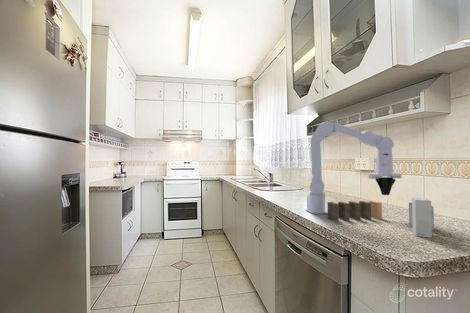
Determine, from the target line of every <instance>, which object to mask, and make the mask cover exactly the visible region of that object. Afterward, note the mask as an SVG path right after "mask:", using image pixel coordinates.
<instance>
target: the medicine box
mask: <svg viewBox="0 0 470 313" xmlns="http://www.w3.org/2000/svg"><path fill="white" fill-rule="evenodd" d="M434 210H435V209H434V206H433V205H431V227H432V231H435V215H434V213H435V212H434ZM408 217H409V218H408V222H409V225H411V226H413V219H412V202H409V203H408Z"/></svg>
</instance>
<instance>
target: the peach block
mask: <svg viewBox="0 0 470 313" xmlns="http://www.w3.org/2000/svg"><path fill="white" fill-rule="evenodd" d="M369 203H371V218H373V219H376V220H382V219H383V210H382V208H383V204H382V202H380V201H376V200H369Z"/></svg>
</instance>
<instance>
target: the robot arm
mask: <svg viewBox="0 0 470 313" xmlns="http://www.w3.org/2000/svg"><path fill="white" fill-rule="evenodd" d="M339 134H341V135H345V136H348V137H352V138H355V139H358V141H359V143H362V144H364V145H366V146H370V147H373V148H376V149H377V154H376V155H377V156H376V159H377V160H376V162H377V164H376V166H377V169H376V170H377V173H369V174H368V179H371V180H373V179H374V180H375V182H376V183H377V185H378V187H379V189H380V193H381V195H383V196H389V195H390V194H391V190H392V188H393V185H394V184H395V183H396V179H402V177H403V176H402V174H401V173H393V172H394V171H393V170H394V169H393V168H394V167H393V164H394V163H393V147H394V145H395V142H394V141H393V139H392V138H391V137H387V136H384V135H383V134H377V133H374V132H372V130H370V129H369V130H363V131H359V130H357V129H353V128H350V127H349V126H345V125H343V124H340V123H337V122H331V121H323V122H321V123H320V124H318V126H317V127H316V129H315V131H314V133H313V134H312V135H311V137H310V154H311V155H310V156H311V157H310V158H311V160H310V162H311V183H310V184H309V190H310V192H309V193H308V195H307V197H306V208H305V211H306V212H309V213H311V214H314V215H316V214H317V215H321V214H328V210H327V211H326V193H325V192H324V189H325V184H324V181H323V176H322V172H323V171H322V150H321V149H322V148H321V143H322V142H323V141H324V140H325V139H326V138H328V137H330V136H332V135H339ZM383 136H384V137H383Z"/></svg>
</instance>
